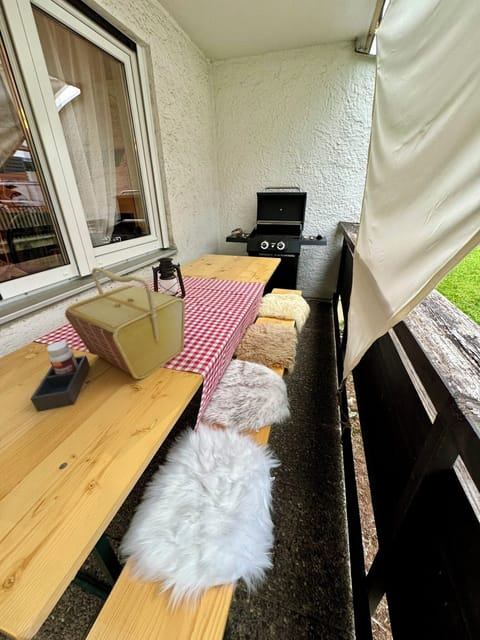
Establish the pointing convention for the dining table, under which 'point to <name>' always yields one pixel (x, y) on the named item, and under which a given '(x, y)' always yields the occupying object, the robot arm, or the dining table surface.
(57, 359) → the pill bottle
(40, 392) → the holder
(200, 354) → the dining table surface
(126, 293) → the picnic basket
